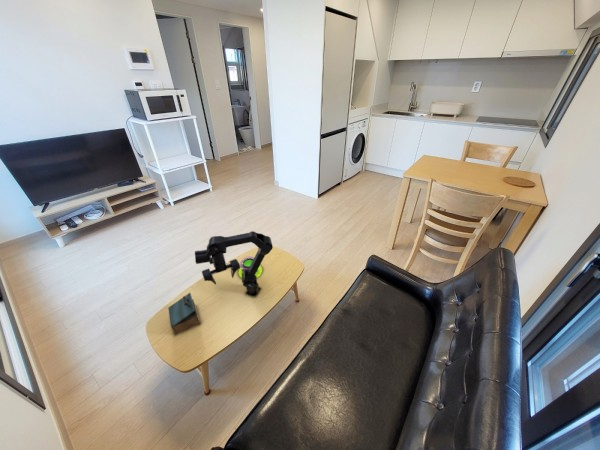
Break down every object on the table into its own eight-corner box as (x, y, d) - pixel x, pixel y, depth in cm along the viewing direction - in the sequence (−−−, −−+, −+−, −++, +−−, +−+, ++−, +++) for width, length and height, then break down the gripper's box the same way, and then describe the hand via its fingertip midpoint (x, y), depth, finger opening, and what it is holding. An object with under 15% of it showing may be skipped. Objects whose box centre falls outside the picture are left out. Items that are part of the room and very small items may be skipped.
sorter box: (195, 306, 131) (193, 299, 128) (200, 323, 122) (197, 316, 119) (172, 315, 126) (168, 308, 123) (175, 334, 117) (171, 327, 114)
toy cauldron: (253, 259, 162) (251, 247, 156) (266, 271, 153) (265, 258, 147) (234, 270, 154) (231, 258, 148) (246, 283, 145) (244, 270, 139)
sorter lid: (190, 293, 125) (185, 289, 122) (195, 310, 116) (189, 306, 113) (169, 308, 123) (163, 304, 120) (171, 327, 114) (165, 323, 111)
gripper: (231, 244, 131) (236, 265, 139) (196, 256, 123) (203, 277, 132) (238, 256, 123) (242, 277, 131) (200, 269, 115) (208, 291, 124)
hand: (224, 280), depth 130 cm, fingers open, 9 cm apart
